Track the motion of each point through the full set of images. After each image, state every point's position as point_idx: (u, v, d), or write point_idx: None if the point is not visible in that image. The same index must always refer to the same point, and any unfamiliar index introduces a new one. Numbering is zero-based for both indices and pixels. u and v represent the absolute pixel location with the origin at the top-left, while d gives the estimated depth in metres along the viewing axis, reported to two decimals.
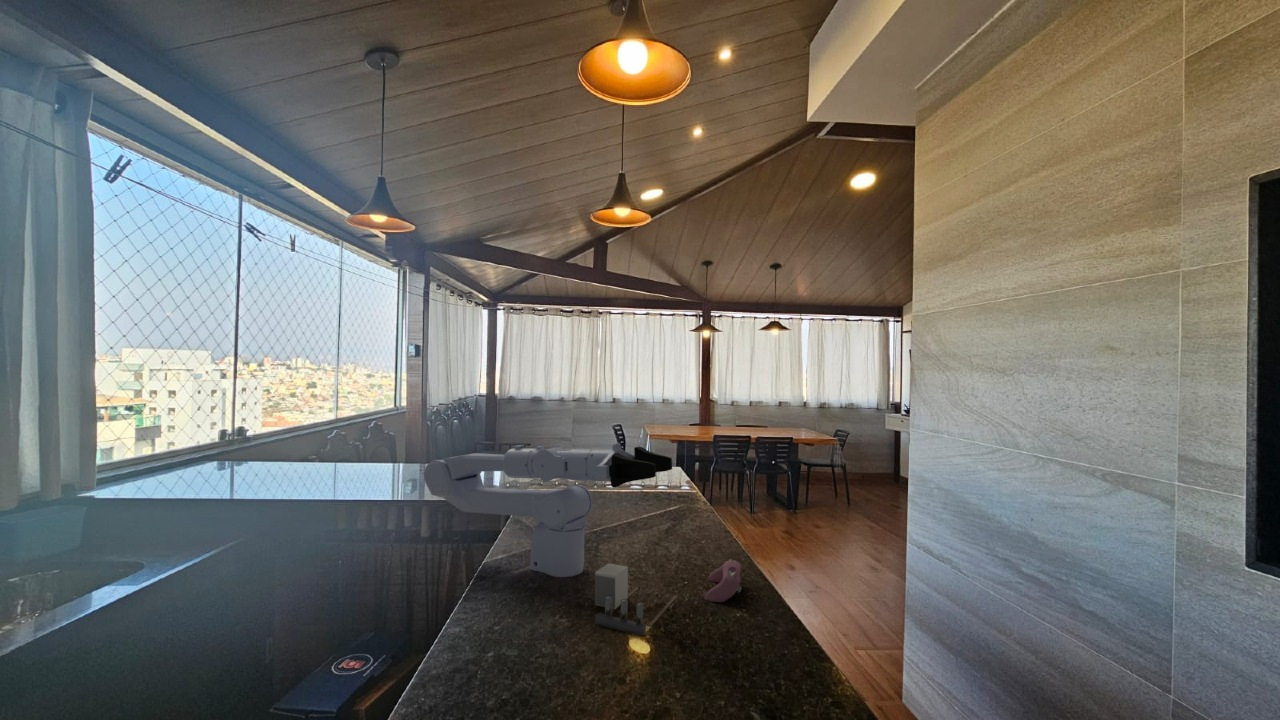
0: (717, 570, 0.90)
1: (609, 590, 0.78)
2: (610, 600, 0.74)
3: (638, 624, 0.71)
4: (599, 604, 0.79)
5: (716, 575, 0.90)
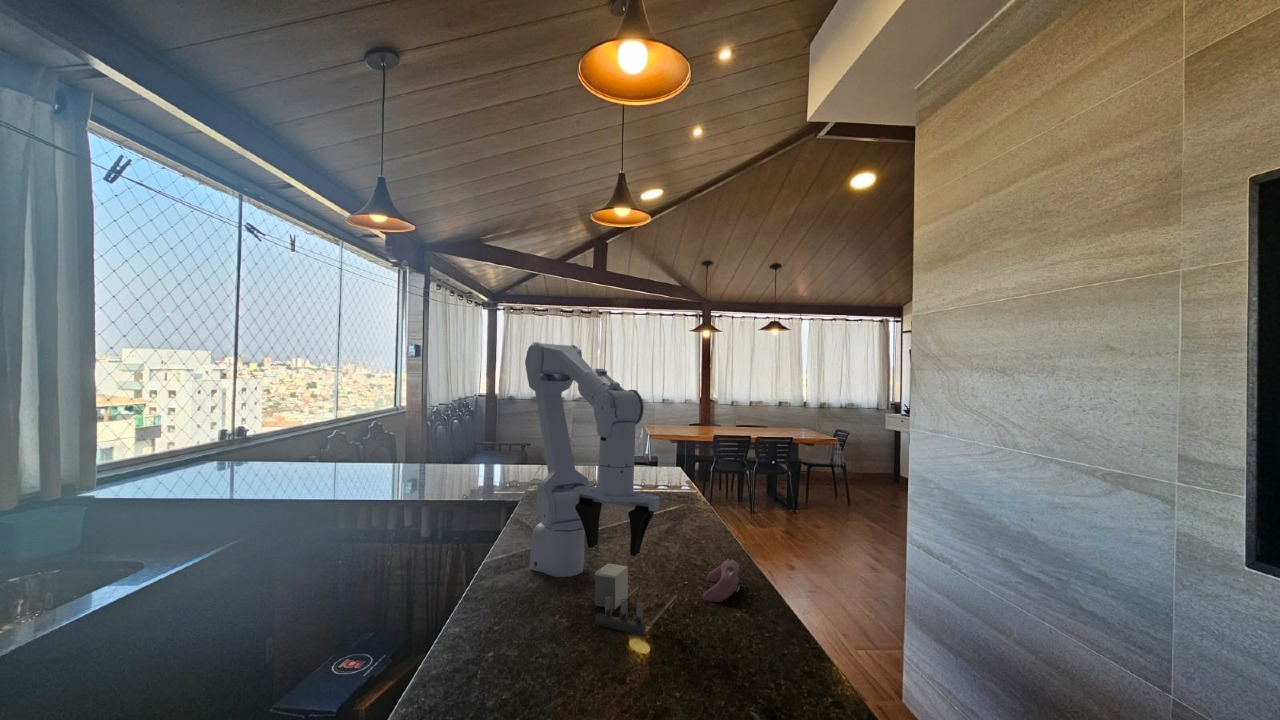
0: (715, 570, 0.90)
1: (609, 590, 0.78)
2: (610, 600, 0.74)
3: (638, 624, 0.71)
4: (599, 604, 0.79)
5: (714, 575, 0.90)
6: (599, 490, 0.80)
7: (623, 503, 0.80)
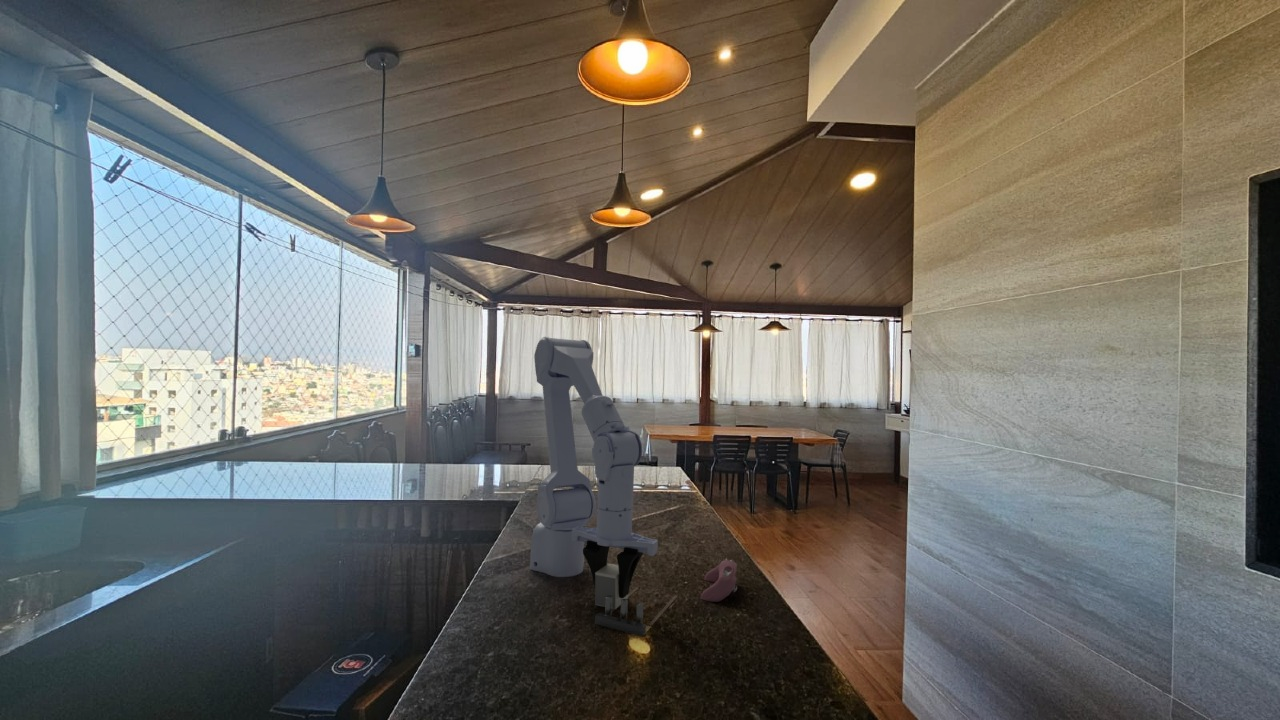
0: (713, 570, 0.90)
1: (609, 590, 0.78)
2: (610, 600, 0.74)
3: (638, 624, 0.71)
4: (599, 604, 0.79)
5: (712, 575, 0.90)
6: (597, 533, 0.80)
7: (621, 546, 0.80)
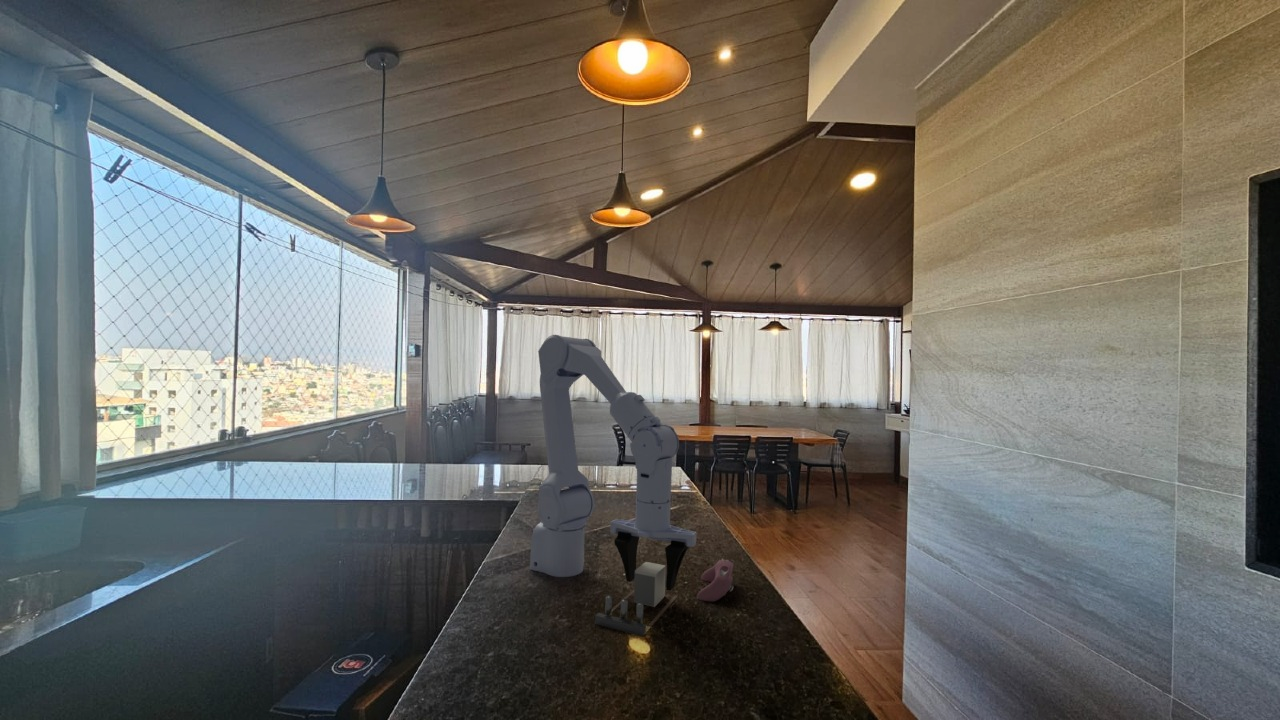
0: (710, 569, 0.91)
1: (649, 588, 0.80)
2: (610, 600, 0.74)
3: (638, 624, 0.71)
4: (638, 601, 0.80)
5: (709, 574, 0.90)
6: (637, 525, 0.81)
7: (660, 538, 0.82)
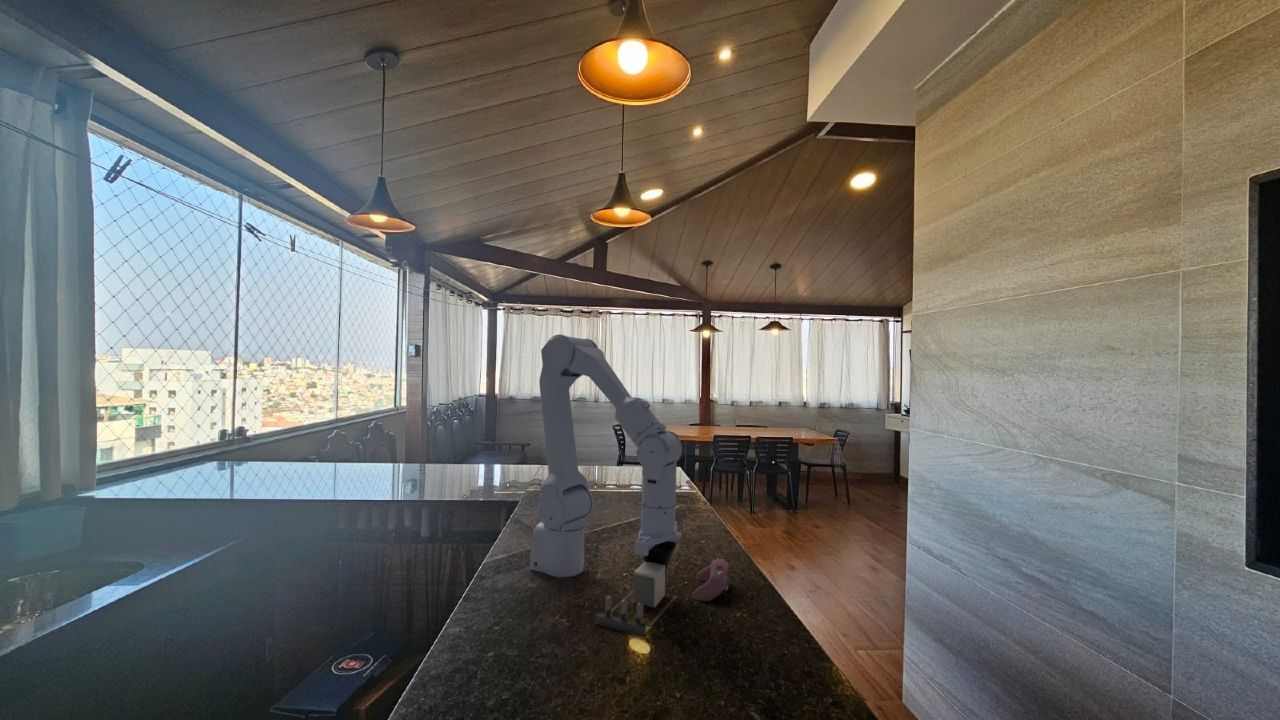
0: (705, 569, 0.91)
1: (648, 589, 0.79)
2: (610, 600, 0.74)
3: (638, 624, 0.71)
4: (638, 602, 0.80)
5: (704, 574, 0.90)
6: (666, 532, 0.82)
7: None
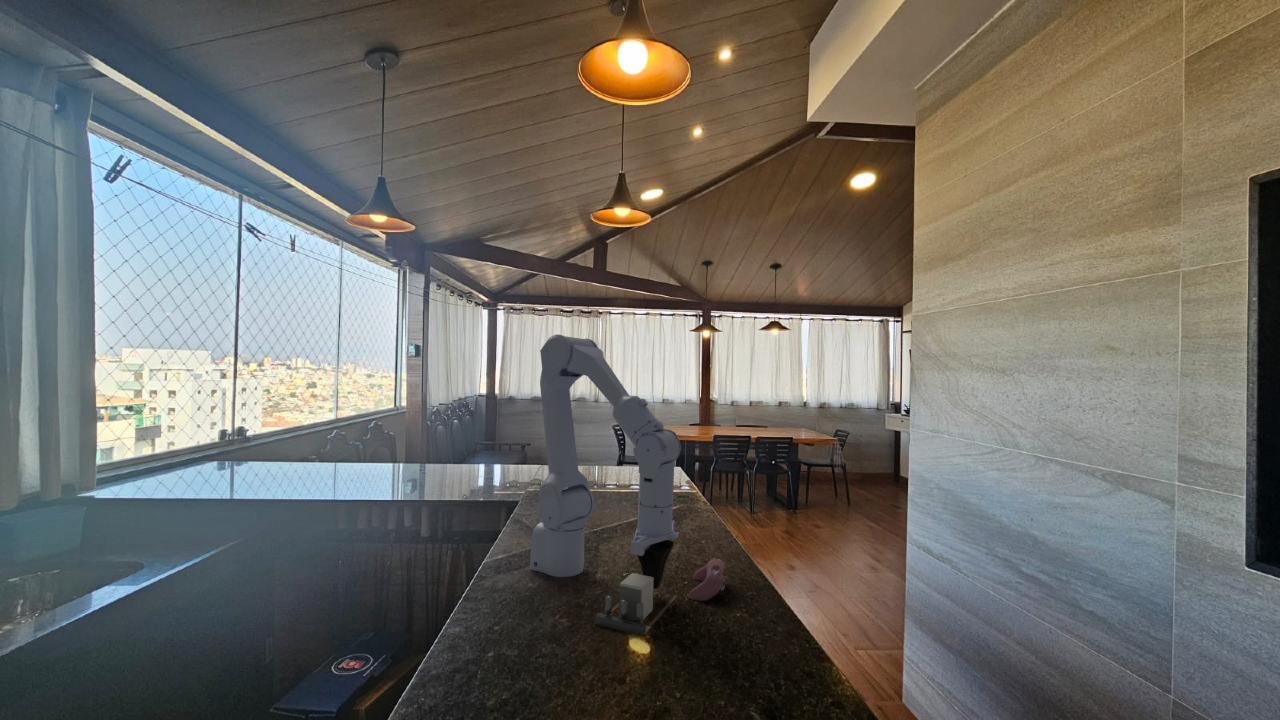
0: (701, 569, 0.91)
1: (635, 602, 0.74)
2: (610, 600, 0.74)
3: (638, 624, 0.71)
4: None
5: (700, 574, 0.90)
6: (663, 532, 0.81)
7: None
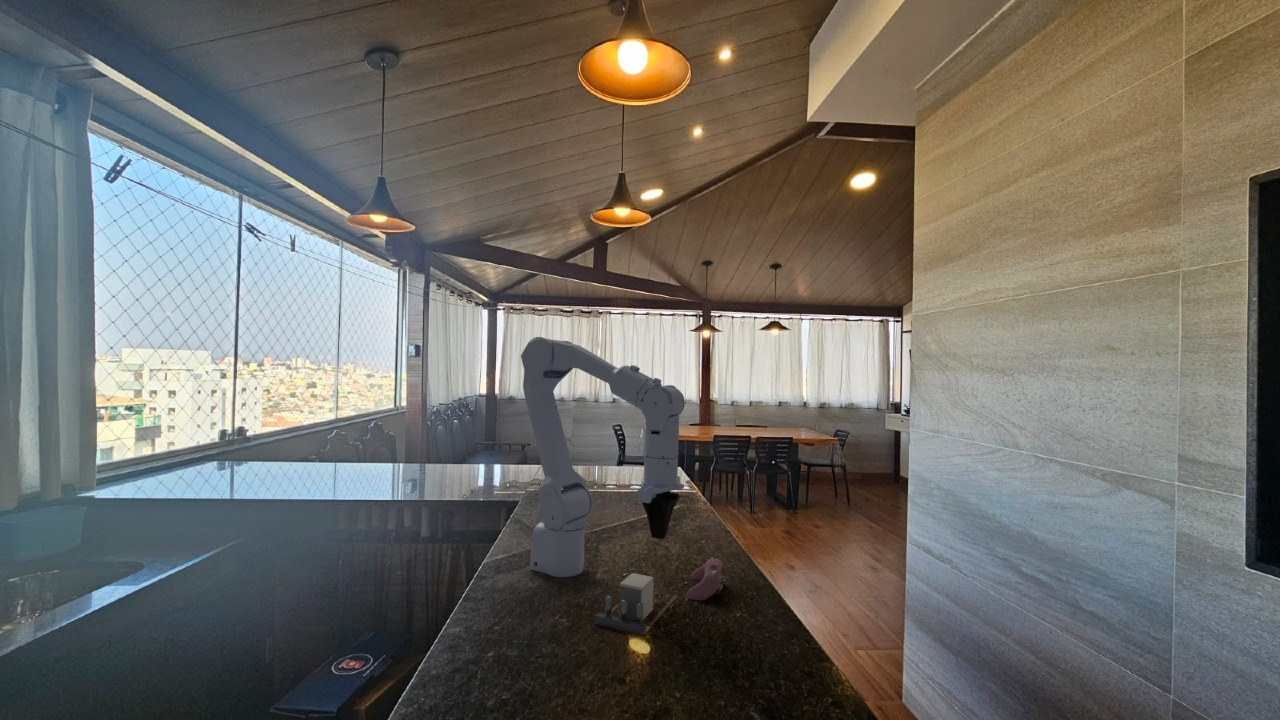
0: (699, 568, 0.91)
1: (635, 602, 0.74)
2: (610, 600, 0.74)
3: (638, 624, 0.71)
4: None
5: (698, 573, 0.91)
6: (669, 483, 0.83)
7: None
